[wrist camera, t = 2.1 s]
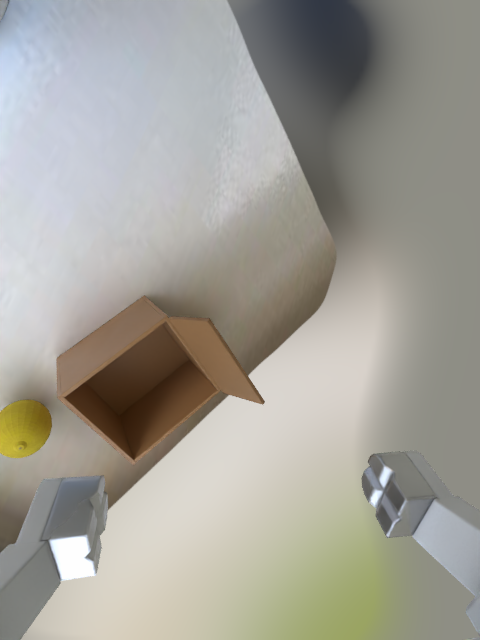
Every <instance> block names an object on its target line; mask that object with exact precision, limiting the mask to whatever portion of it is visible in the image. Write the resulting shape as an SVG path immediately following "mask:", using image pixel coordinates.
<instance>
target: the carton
mask: <svg viewBox="0 0 480 640" xmlns="http://www.w3.org/2000/svg"><path fill="white" fill-rule="evenodd" d="M220 391H221V389H220V388H219V386H218V385H217V384H216V382H215V381H214V380H213V378H212V377H211V375H210V374H209V373H208V371H207V370H206V369H205V367H204V366H203V365H202V363H201V362H200V361H199V359H198V358H197V357H196V355H195V354H194V352H193V351H192V350H191V348H190V347H189V346H188V344H187V343H186V342H185V340H184V339H183V338H182V336H181V335H180V334H179V332H178V331H177V330H176V328H175V327H174V325H173V324H172V323H171V321H170V320H169V317H168V316H167V315H166V314H165V313H164V312H163V311H161V310H160V309H159V308H158V307H157V306H156V305H155V304H153V303H152V302H151V301H150V300H149V299H148V298H147V297H146V296H143V297H141V298H140V299H139V300H137V301H136V302H134V303H133V304H132V305H130V306H129V307H127V308H126V309H125V310H123V311H122V312H120V313H119V314H118V315H116V316H115V317H114V318H112V319H111V320H109V321H108V322H107V323H105V324H104V325H102V326H101V327H100V328H98V329H97V330H95V331H94V332H93V333H91V334H90V335H88V336H87V337H86V338H84V339H83V340H81V341H80V342H79V343H77V344H76V345H74V346H73V347H72V348H70V349H69V350H67V351H66V352H65V353H63V354H62V355H60V356H59V357H58V358H57V398H58V399H59V400H60V401H61V402H62V403H64V404H65V405H66V406H67V407H68V408H69V409H70V410H71V411H73V412H74V413H75V414H76V415H77V416H78V417H79V418H80V419H82V420H83V421H84V422H85V423H86V424H87V425H88V426H89V427H91V428H92V429H93V430H94V431H95V432H96V433H97V434H99V435H100V436H101V437H102V438H103V439H104V440H105V441H106V442H108V443H109V444H110V445H111V446H112V447H113V448H114V449H115V450H117V451H118V452H119V453H120V454H121V455H122V456H123V457H124V458H126V459H127V460H128V461H129V462H130V463H131V464H132V465H134V464H135V463H136V462H137V461H139V460H140V459H141V458H142V457H143V456H144V455H146V454H147V453H148V452H149V451H150V450H152V449H153V448H154V447H155V446H156V445H157V444H159V443H160V442H161V441H162V440H163V439H164V438H166V437H167V436H168V435H169V434H170V433H172V432H173V431H174V430H175V429H176V428H177V427H179V426H180V425H181V424H182V423H183V422H184V421H186V420H187V419H188V418H189V417H190V416H191V415H193V414H194V413H195V412H196V411H197V410H199V409H200V408H201V407H202V406H203V405H204V404H206V403H207V402H208V401H209V400H210V399H211V398H213V397H214V396H215V395H216V394H217V393H218V392H220Z"/></svg>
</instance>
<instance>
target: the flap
mask: <svg viewBox="0 0 480 640" xmlns="http://www.w3.org/2000/svg"><path fill="white" fill-rule="evenodd" d="M169 320H170V321H171V323H172V324H173V325H174V327H175V328H176V330H177V331H178V332H179V334H180V335H181V336H182V338H183V339H184V340H185V342H186V343H187V344H188V346H189V347H190V348H191V350H192V351H193V352H194V354H195V355H196V357H197V358H198V359H199V361H200V362H201V363H202V365H203V366H204V367H205V369H206V370H207V371H208V373H209V374H210V375H211V377H212V378H213V380H214V381H215V382H216V384H217V385H218V386H219V388H220V389H221V390H222V392H223V393H225V394H229V395H232V396H236V397H239V398H242V399H246V400H249V401H253V402H256V403H260V404H264V402H265V401H264V400H263V398H262V397H261V395H260V394H259V392H258V391H257V389H256V388H255V386H254V385H253V383H252V382H251V380H250V379H249V377H248V376H247V374H246V373H245V371H244V370H243V368H242V367H241V365H240V363H239V362H238V360H237V359H236V357H235V356H234V354H233V353H232V351H231V350H230V348H229V347H228V345H227V344H226V342H225V341H224V339H223V338H222V336H221V335H220V333H219V332H218V330H217V329H216V327H215V326H214V324H213V323H212V321H211V320H210V318H193V317H175V316H171V317H170V318H169Z"/></svg>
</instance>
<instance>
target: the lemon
mask: <svg viewBox="0 0 480 640" xmlns="http://www.w3.org/2000/svg"><path fill="white" fill-rule="evenodd" d="M51 427H52V420H51V415H50V413H49V411H48V409H47V408H46V407H45V406H44V405H43V404H41V403H40V402H37V401H34V400H20V401H16V402H14V403H12V404H10V405H8V406H7V407H5V408H4V409H3V410H2V411H1V412H0V453H1V454H3V455H5V456H7V457H11V458H22V457H26V456H29V455H31V454H33V453H35V452H36V451H38V450H39V449H40V448H41V447H42V446H43V445H44V444H45V442H46V440H47V439H48V437H49V435H50V431H51Z"/></svg>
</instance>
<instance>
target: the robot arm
mask: <svg viewBox="0 0 480 640" xmlns="http://www.w3.org/2000/svg"><path fill="white" fill-rule="evenodd" d="M7 5H8V0H0V21H1V20H2V18H3V16H4V13H5V11H6V8H7ZM368 463H369V465H370V467H368V468H367V469H366V470H365V471H364V473H363V476H362V488H363V491H364V494H365V496H366V498H367V500H368V502H369V503H370V504H372V505H373V506H374V507H375V508H377V509H376V517H377V520H378V521H379V523H380V525H381V527H382V529H383V531H384V533H385V535H386V537H387V538H391V537H402V536H412V535H413V538H414V539H415V540H416V541H417V542H418V543H419V544H420V545H421V546H422V547H423V548H424V549H426V550H427V551H428V552H429V553H430V554H431V555H432V556H433V557H434V558H435V559H436V560H437V561H438V562H439V563H441V564H442V565H443V566H444V567H445V568H446V569H447V570H448V571H449V572H450V573H451V574H452V575H453V576H454V577H456V578H457V579H458V580H459V581H460V582H461V583H462V584H463V585H464V586H465V587H466V588H467V589H468V590H469V591H470V592H472V594H473V595H475V596H476V597H475V598H474V599H473V600H472V601H471V602H470V604H469V605H468V606H467V608H466V614H467V615H468V617H469V618H470V621H471V622H472V624H473V626H474V627H475V629H476V631H477V632H478V634H479V636H480V510H478V509H477V508H475V507H474V506H472V505H470V504H469V503H468V502H466V501H465V500H463V499H462V498H460V497H458V496H456V497H454V496H453V495H452V493H451V492H450V491H449V490H448V488H447V487H446V486H445V484H444V483H443V482H442V480H441V479H440V478H439V477H438V475H437V474H436V472H435V471H434V470H433V469H432V468H431V466H430V465H429V463H428V462H427V461H426V459H425V458H424V457H423V455H422V454H421V453H419V452H418V451H405V452H400V451H399V452H388V453H378V454H373V455H371V456H370V458H369V460H368ZM104 487H105V479H104V475H103V476H85V477H67V478H51V479H43V481H42V482H41V484H40V485H39V487H38V489H37V492H36V494H35V497H34V499H33V502H32V504H31V507H30V509H29V512H28V514H27V517H26V519H25V522H24V524H23V527H22V529H21V532H20V534H19V536H18V539H17V541H16V544H10V545H8V546H7V547H6V548H5V549H4V550H3V551H2V552H1V553H0V640H20V639H21V638H22V637H23V635H24V634H25V632H26V631H27V630H28V628H29V627H30V625H31V624H32V623H33V621H34V620H35V618H36V617H37V616H38V614H39V613H40V611H41V610H42V609H43V607H44V606H45V604H46V603H47V601H48V600H49V599H50V597H51V596H52V595H53V593H54V592H55V590H56V589H57V588H58V586H59V585H60V581H62V580H69V579H75V578H81V577H87V576H94V575H96V573H97V568H98V563H99V558H100V553H101V541H100V535H101V534H102V533H103V531H104V530H105V525H106V520H107V511H108V498H107V493H106V492H104ZM465 640H480V637H475V638H470V639H465Z"/></svg>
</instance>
